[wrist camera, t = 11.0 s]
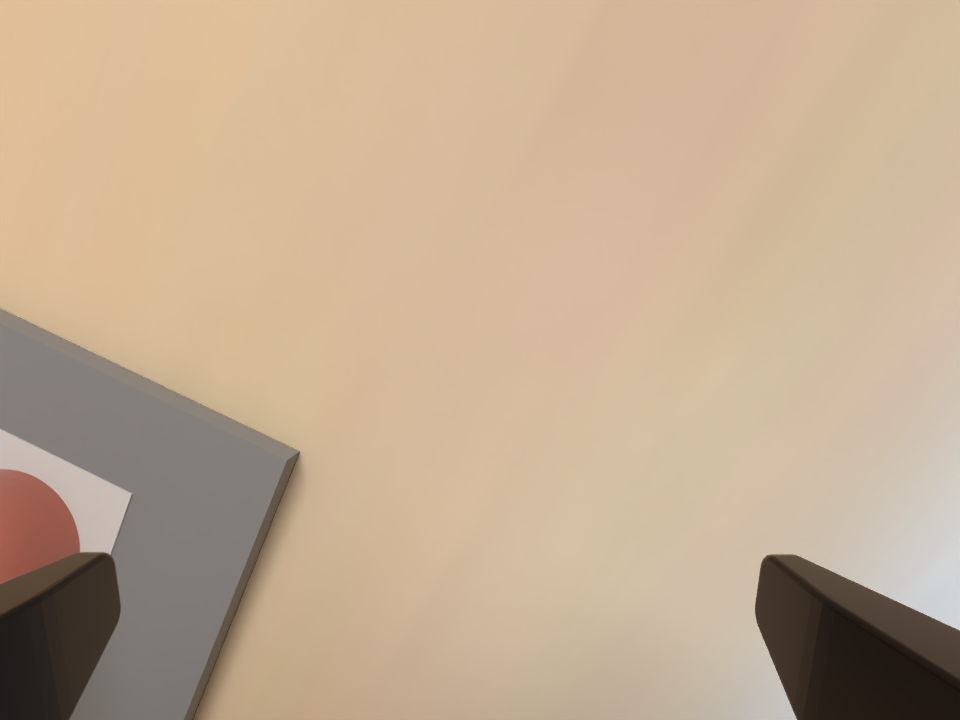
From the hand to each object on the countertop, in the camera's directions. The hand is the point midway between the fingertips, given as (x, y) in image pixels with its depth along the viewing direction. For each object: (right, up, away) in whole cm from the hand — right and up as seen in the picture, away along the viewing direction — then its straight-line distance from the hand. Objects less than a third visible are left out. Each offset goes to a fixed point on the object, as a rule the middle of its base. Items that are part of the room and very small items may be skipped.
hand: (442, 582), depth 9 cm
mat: (-16, -3, +15) cm, 22 cm away
